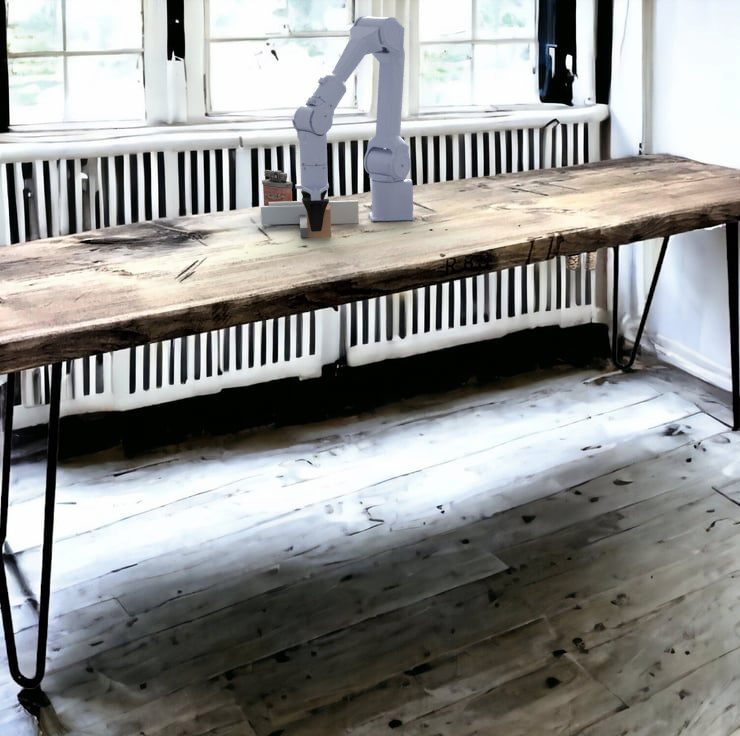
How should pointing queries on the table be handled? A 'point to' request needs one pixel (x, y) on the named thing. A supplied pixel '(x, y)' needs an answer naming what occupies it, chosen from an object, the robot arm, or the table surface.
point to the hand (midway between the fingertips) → (315, 226)
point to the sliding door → (285, 216)
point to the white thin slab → (334, 210)
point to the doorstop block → (325, 228)
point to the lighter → (276, 187)
